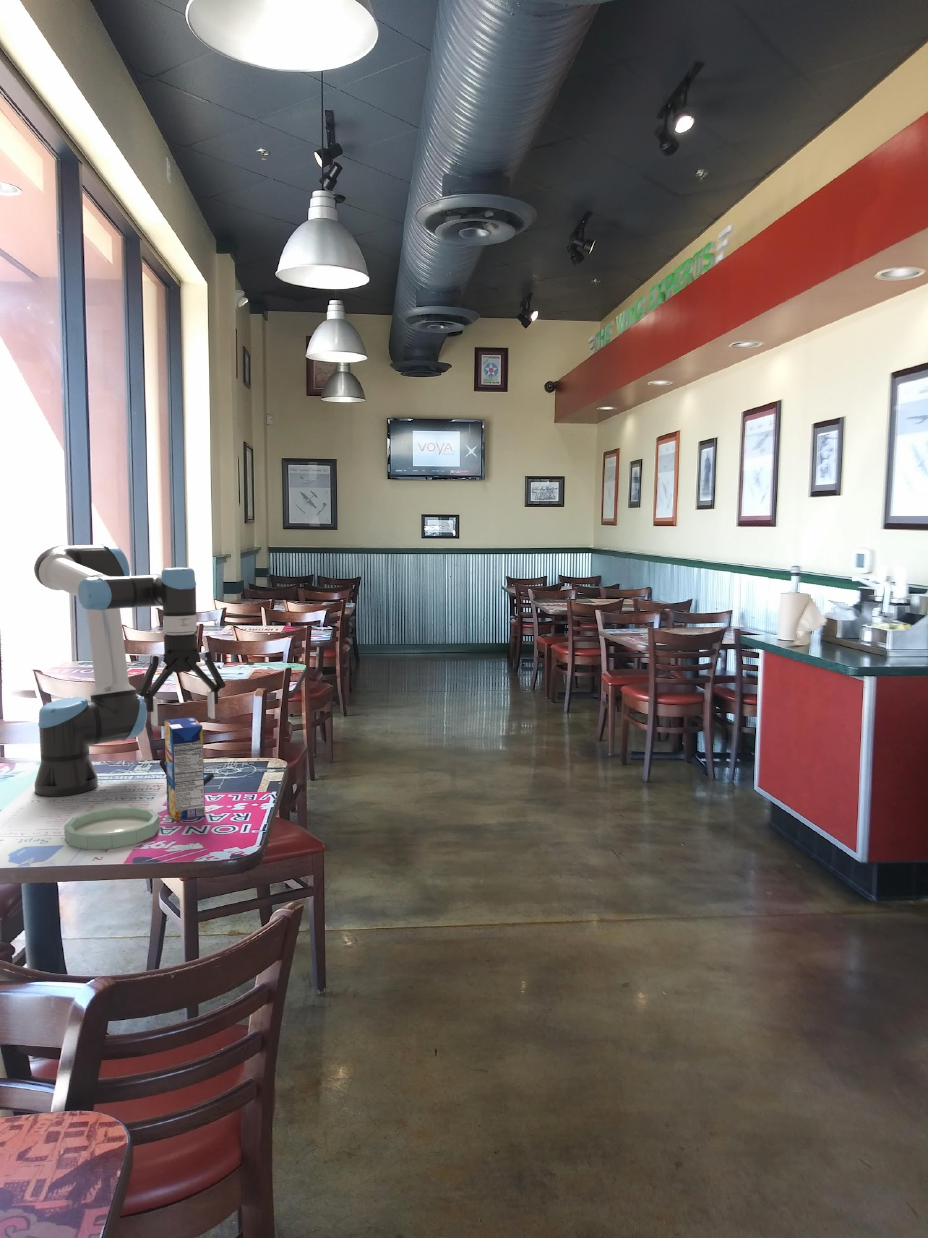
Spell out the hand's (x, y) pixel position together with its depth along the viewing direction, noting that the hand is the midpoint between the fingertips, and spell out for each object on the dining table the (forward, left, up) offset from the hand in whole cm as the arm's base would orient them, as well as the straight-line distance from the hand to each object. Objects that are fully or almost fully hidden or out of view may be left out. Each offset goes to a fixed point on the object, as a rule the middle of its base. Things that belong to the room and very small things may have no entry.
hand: (183, 721), depth 203 cm
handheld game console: (-26, +9, -23) cm, 35 cm away
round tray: (+5, -18, -22) cm, 29 cm away
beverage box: (0, 0, -23) cm, 23 cm away
